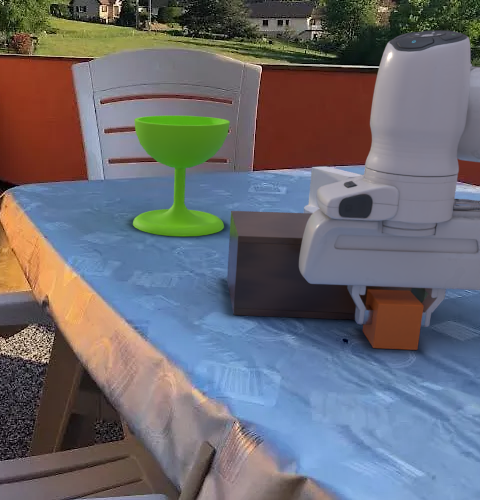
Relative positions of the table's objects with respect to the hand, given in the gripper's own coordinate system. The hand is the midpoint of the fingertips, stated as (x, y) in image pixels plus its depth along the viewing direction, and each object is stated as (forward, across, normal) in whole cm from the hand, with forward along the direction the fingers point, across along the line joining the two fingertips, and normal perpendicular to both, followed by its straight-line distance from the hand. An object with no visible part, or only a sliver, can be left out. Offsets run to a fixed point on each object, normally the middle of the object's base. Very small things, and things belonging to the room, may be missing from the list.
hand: (390, 323), depth 76 cm
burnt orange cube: (+2, 0, 0) cm, 2 cm away
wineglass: (+2, +23, -48) cm, 53 cm away
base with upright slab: (+2, -1, -37) cm, 37 cm away
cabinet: (+2, +9, -12) cm, 15 cm away
